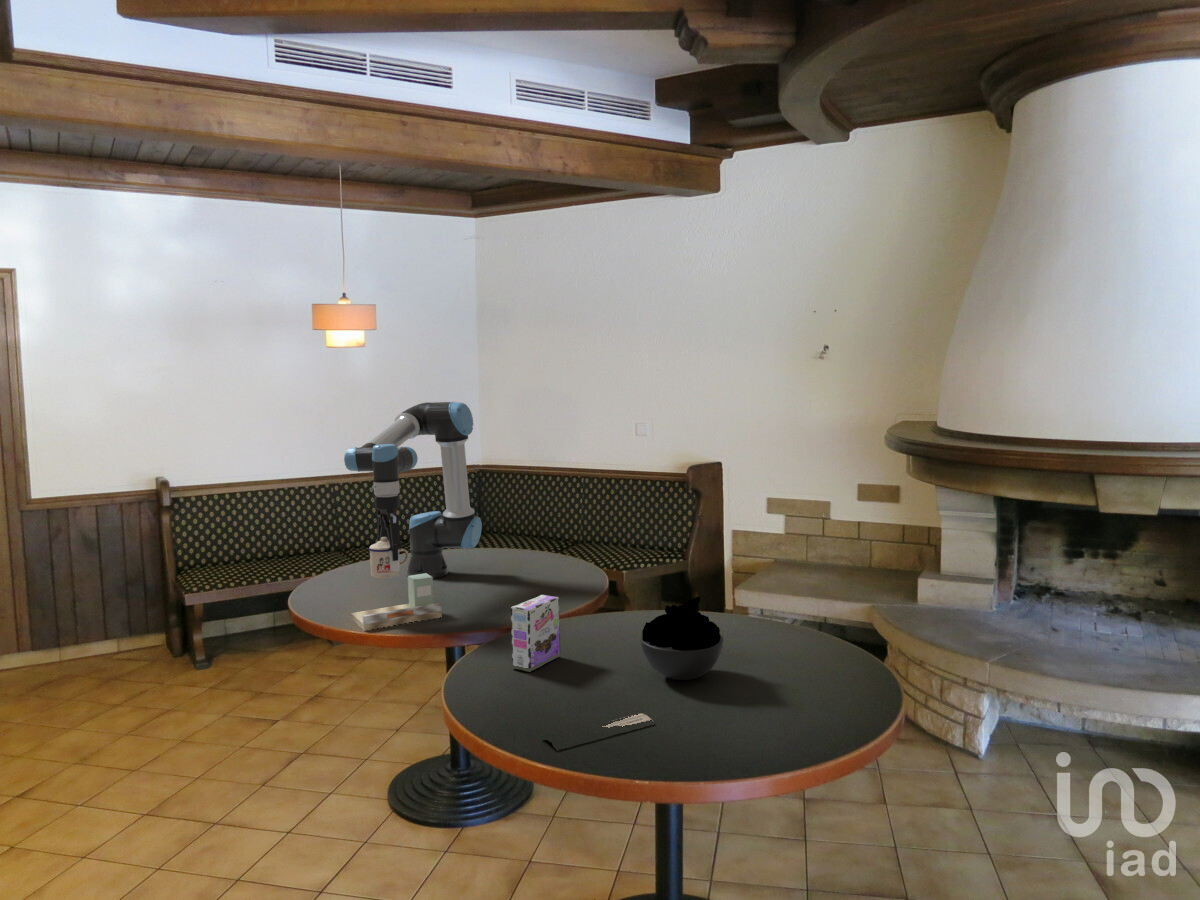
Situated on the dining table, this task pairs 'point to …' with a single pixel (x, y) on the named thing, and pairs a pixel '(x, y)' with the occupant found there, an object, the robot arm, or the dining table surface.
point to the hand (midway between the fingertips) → (390, 567)
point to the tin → (420, 590)
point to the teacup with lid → (383, 559)
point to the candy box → (535, 631)
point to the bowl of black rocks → (682, 642)
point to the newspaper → (630, 720)
